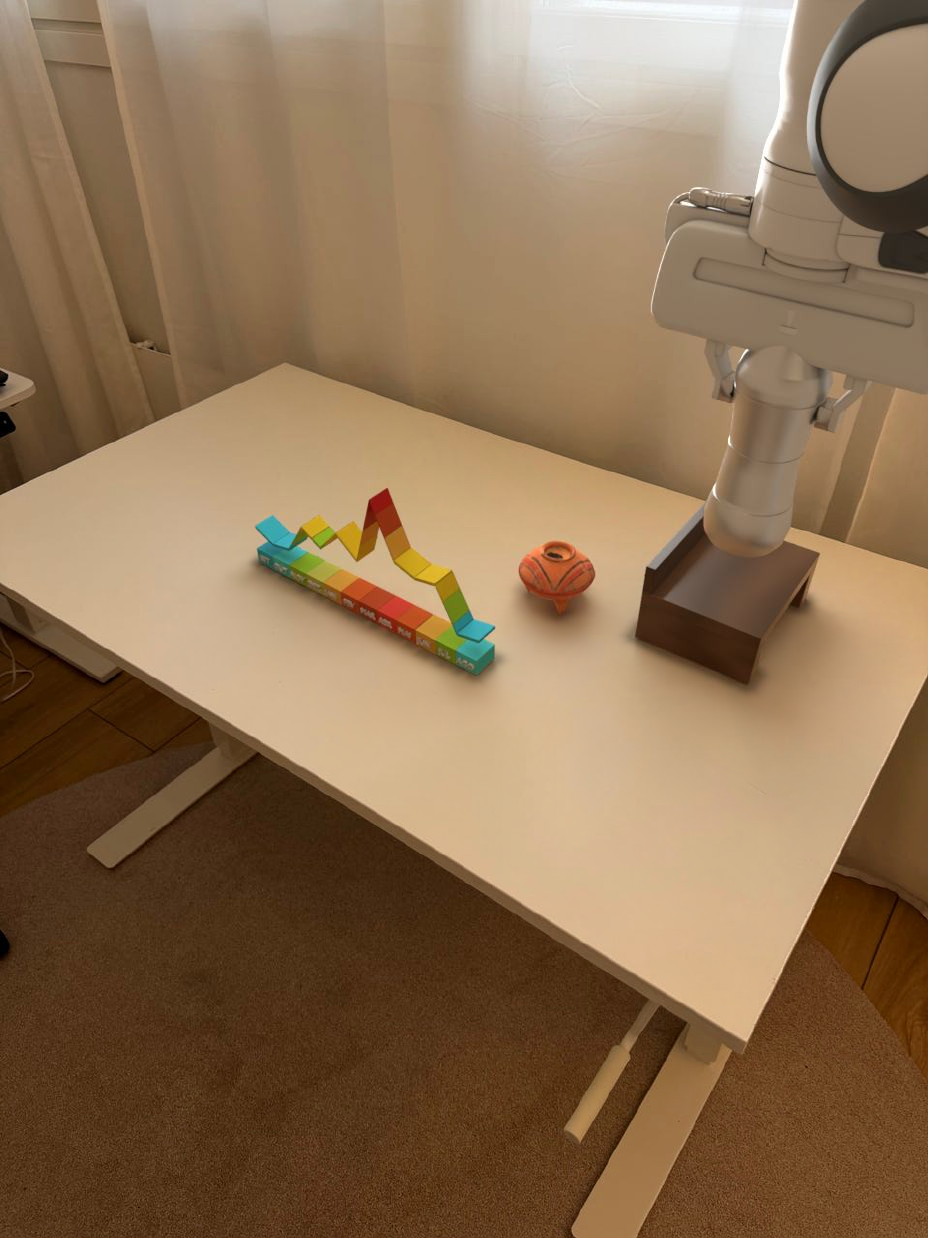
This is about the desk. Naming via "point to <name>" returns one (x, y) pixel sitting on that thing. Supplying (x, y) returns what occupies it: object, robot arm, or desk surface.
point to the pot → (556, 572)
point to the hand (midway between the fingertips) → (775, 412)
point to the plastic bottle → (764, 449)
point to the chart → (374, 603)
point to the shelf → (719, 599)
